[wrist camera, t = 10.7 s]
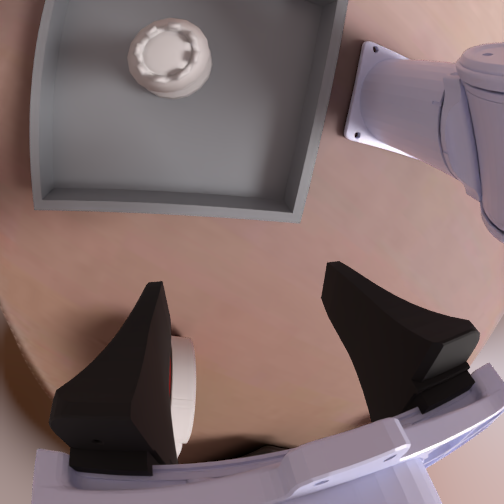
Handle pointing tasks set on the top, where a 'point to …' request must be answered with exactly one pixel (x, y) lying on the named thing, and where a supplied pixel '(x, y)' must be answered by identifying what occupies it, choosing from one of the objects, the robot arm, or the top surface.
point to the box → (182, 109)
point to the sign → (182, 389)
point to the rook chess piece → (170, 58)
